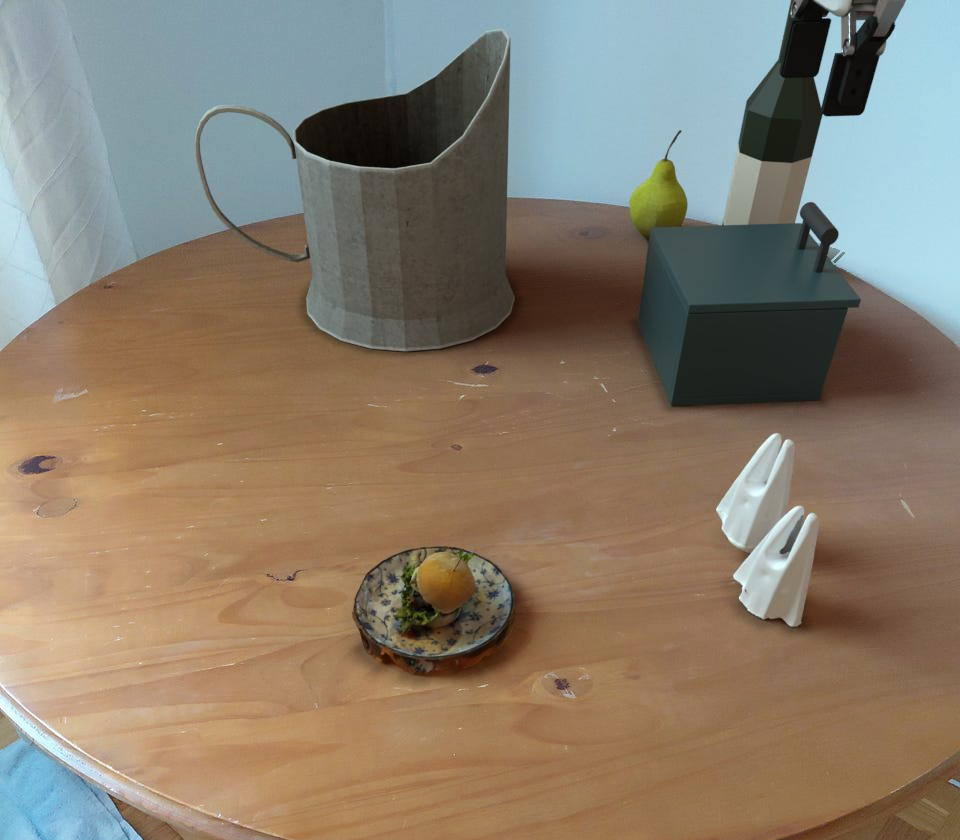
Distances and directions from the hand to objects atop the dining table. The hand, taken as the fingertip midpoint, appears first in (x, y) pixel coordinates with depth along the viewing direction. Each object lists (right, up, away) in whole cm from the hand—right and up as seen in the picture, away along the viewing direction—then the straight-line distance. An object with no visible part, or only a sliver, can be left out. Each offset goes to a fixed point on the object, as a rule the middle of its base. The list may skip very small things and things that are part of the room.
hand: (818, 94), depth 71 cm
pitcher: (-39, -6, +29) cm, 49 cm away
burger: (-30, -42, -5) cm, 52 cm away
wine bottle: (+5, +2, +36) cm, 37 cm away
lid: (-1, -8, +14) cm, 16 cm away
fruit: (-5, +7, +41) cm, 42 cm away
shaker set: (-6, -38, -1) cm, 39 cm away
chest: (-2, -14, +21) cm, 25 cm away
